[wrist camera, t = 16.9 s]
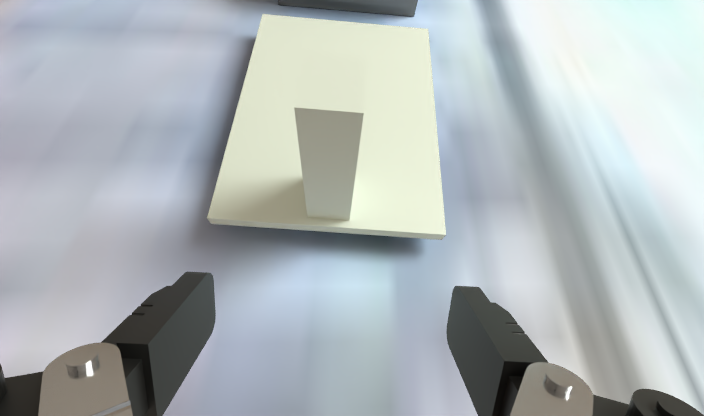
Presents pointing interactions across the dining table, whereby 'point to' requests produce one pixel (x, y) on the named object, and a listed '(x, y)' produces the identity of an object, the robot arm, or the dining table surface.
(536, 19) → the dining table surface
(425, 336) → the dining table surface
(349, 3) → the tub
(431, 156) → the lid
